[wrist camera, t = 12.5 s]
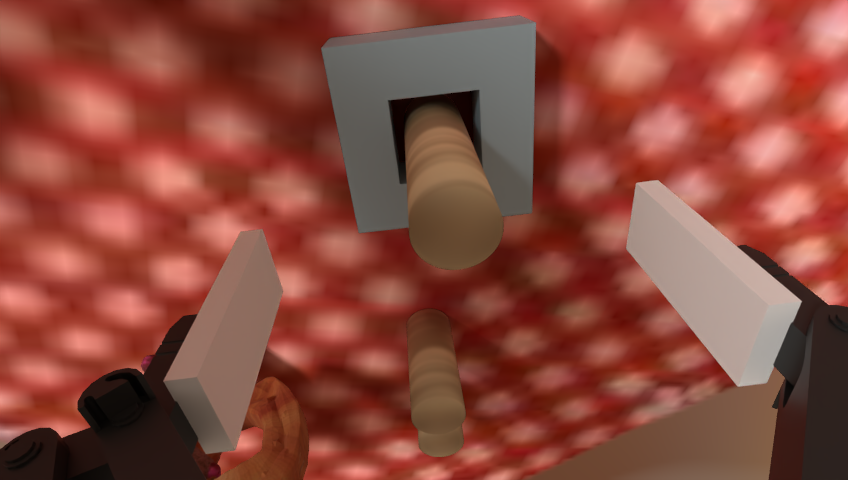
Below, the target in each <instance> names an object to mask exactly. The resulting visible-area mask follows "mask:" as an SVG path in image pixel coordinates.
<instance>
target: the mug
mask: <svg viewBox="0 0 848 480" xmlns="http://www.w3.org/2000/svg"><path fill="white" fill-rule="evenodd" d="M154 356H156V354H155V355H149V356H146V357H145V358H144V359H143V361H142V364H141V367H142V369H143V371H144V372H145V371H146V369H147V368H148V366H149V364H150V362H151V361H152V359H153V357H154ZM251 427H258V428H261V429H263V442H262V449H261V451H260V452H258V453H257V454H256V455H254V456H253V457H252V458H250V459H249V460H247V461H245V462H242V463H241V464H239V465H238V466H237V467H236V468H234V469H231V470H229V471H227V472H225V473H224V474H222V475H221V469H220V466H219V465H218V464H217V463H218V461H219V459H220V455H221V453H222V452H218V453H210V454H206V453H205V452H204V450H203V448H202V447H201V445H200V443H199V442H198V441H197V444H196V446H195V449H194V452H193V454H192V456H193V458H194V459H195V461H196V463H197V464H198V466H199V468H200V469H201V471H202V473H203V474H204V476H205V477H206V479H207V480H303V477H304V474H305V471H306V468H307V465H308V452H309V436H308V429H307V423H306V418H305V416H304V414H303V412H302V410H301V408H300V404H299V402H298V401H297V399H296V398H295V396H294V395H293V394H292V392H291V391H290V389H289V388H288V387H287V386H286V385H285V384H284V383H283V382H282V381H280V380H279V379H277V378H275V377H267V378H264V379H263V380H261V381H260V382H258V383H257V384H255V387H254V390H253V393H252V396H251V400H250V403H249V406H248V410H247V413H246V416H245V420H244V423H243V426H242V430H241V431H243V430H245V429H248V428H251Z"/></svg>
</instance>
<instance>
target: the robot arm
mask: <svg viewBox="0 0 848 480" xmlns="http://www.w3.org/2000/svg"><path fill="white" fill-rule="evenodd" d="M626 249H627V250H628V252H629V253H630V254H631V255H632V256H633V258H634V259H635V260H636V261H637V263H638V264H639V265H640V266H641V268H642V269H643V270H644V271H645V273H646V274H647V275H648V276H649V277H650V279H651V280H652V281H653V282H654V284H655V285H656V286H657V287H658V289H659V290H660V291H661V292H662V294H663V295H664V296H665V297H666V299H667V300H668V301H669V302H670V303H671V305H672V306H673V307H674V308H675V310H676V311H677V312H678V313H679V315H680V316H681V317H682V318H683V320H684V321H685V322H686V323H687V325H688V326H689V327H690V328H691V329H692V331H693V332H694V333H695V334H696V336H697V337H698V338H699V339H700V341H701V342H702V343H703V344H704V346H705V347H706V348H707V349H708V350H709V352H710V353H711V354H712V355H713V357H714V358H715V359H716V360H717V362H718V363H719V364H720V365H721V367H722V368H723V369H724V370H725V372H726V373H727V374H728V375H729V376H730V378H731V379H732V380H733V381H734V383H735V384H736V385H737V386H738V387H741V386H748V385H756V384H764V383H767V382H768V380H769V377H770V375H771V373H772V370H773V368H774V366H775V367H776V369H777V370H778V371H779V372H780V373H781V374H782V375H783V376H784V377H785V380H784V382H783V384H782V386H781V388H780V391H779V393H778V395H777V397H776V399H775V401H774V404H773V406H772V407H773V408H775V409H778V413H777V420H776V429H775V436H774V443H773V451H772V458H771V466H770V474H769V480H848V307H845V306H839V305H828V304H827V303H825V302H824V301H823V300H822V299H820V298H819V297H818V296H817V295H815V294H814V293H813V292H812V291H810V290H809V289H808V288H807V287H805V286H804V285H803V284H802V283H800V282H799V281H798V280H797V279H795V278H794V277H793V276H789V273H788V272H787V271H785V270H784V269H783V268H782V267H778V264H777V263H775V262H774V261H773V260H772V259H770V258H769V257H768V256H767V255H765V254H764V253H762V252H760V251H758V250H755V249H753V248H751V247H749V246H747V245H740V246H736V245H734V244H733V243H732V242H731V241H730V240H729V239H727V238H726V237H725V236H724V235H723V234H721V233H720V232H719V231H718V230H717V229H715V228H714V227H713V226H712V225H711V224H709V223H708V222H707V221H706V220H705V219H704V218H702V217H701V216H700V215H699V214H698V213H696V212H695V211H694V210H693V209H692V208H690V207H689V206H688V205H687V204H686V203H685V202H683V201H682V200H681V199H680V198H679V197H677V196H676V195H675V194H674V193H673V192H671V191H670V190H669V189H668V188H667V187H666V186H664V185H663V184H662V183H661V182H660V181H658V180H655V181H647V182H639V183H636V188H635V194H634V200H633V207H632V213H631V220H630V226H629V233H628V239H627V246H626ZM282 294H283V289H282V286H281V283H280V280H279V277H278V274H277V271H276V268H275V265H274V262H273V259H272V256H271V253H270V250H269V247H268V244H267V241H266V238H265V235H264V232H263V229H259V230H251V231H243V232H240V234H239V236H238V238H237V240H236V241H235V243H234V245H233V247H232V249H231V251H230V253H229V255H228V257H227V259H226V261H225V263H224V265H223V267H222V269H221V271H220V272H219V274H218V276H217V278H216V280H215V282H214V284H213V286H212V288H211V290H210V292H209V294H208V296H207V298H206V300H205V301H204V303H203V305H202V307H201V309H200V311H199V313H198V314H195V315H187V316H183V317H182V318H181V319H180V320H179V321H177V322H176V323H175V324H174V325H173V326H172V327H171V328H170V329H169V331H168V333H167V334H166V336H165V338H164V340H163V341H162V345H160V347H159V348H158V350H157V352H156V356H154V357H153V359H152V361H151V362H150V364H149V366H148V368H147V369H146V371H145V373H144V375H143V374H142V373H141V372H139V371H138V370H137V369H131V368H125V369H120V370H115V371H113V372H111V373H108V374H106V375H104V376H102V377H101V378H99V379H98V380H96V381H95V382H93V383H92V384H91V385H90V386H89V387H88V388H87V389H86V390H85V391H84V392H83V393H82V395H81V397H80V398H79V400H78V411H79V412H80V413H81V415H82V416H83V417H84V418H85V420H86V421H87V422H88V424H89V425H90V426H91V427H90V428H88V429H85V430H82V431H80V432H77V433H74V434H72V435H69V436H66V437H63V438H61V437H60V436H59V434H58V433H57V432H56V431H54V430H53V429H51V428H38V429H35V430H31V431H28V432H26V433H24V434H22V435H20V436H18V437H16V438H15V439H13V440H12V441H10V442H9V443H8V444H6V445H5V446H4V447H3V448H1V449H0V480H207V479H206V477H205V476H204V474H203V473H202V471H201V469H200V468H199V466H198V464H197V463H196V461H195V459H194V458H193V456H192V454H193V452H194V449H195V446H196V444H197V441H198V442H199V443H200V445H201V447H202V448H203V450H204V452H205V453H206V454H210V453H218V452H226V451H234V450H236V446H237V443H238V440H239V436H240V433H241V430H242V426H243V423H244V420H245V416H246V413H247V410H248V406H249V403H250V400H251V396H252V393H253V390H254V387H255V383H256V380H257V377H258V373H259V370H260V367H261V363H262V360H263V357H264V353H265V350H266V347H267V343H268V340H269V337H270V333H271V330H272V327H273V323H274V320H275V317H276V313H277V310H278V307H279V303H280V300H281V297H282Z"/></svg>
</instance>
